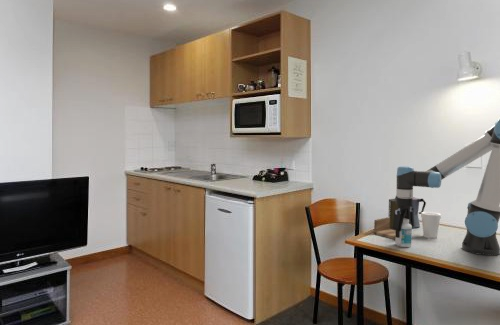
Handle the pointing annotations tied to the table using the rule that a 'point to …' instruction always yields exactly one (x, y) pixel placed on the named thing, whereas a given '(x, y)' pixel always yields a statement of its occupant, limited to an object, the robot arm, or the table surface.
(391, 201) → the canister
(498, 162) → the robot arm
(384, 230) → the holder
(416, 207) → the moka pot
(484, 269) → the table surface
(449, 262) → the table surface
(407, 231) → the pill bottle
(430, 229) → the foam cup
